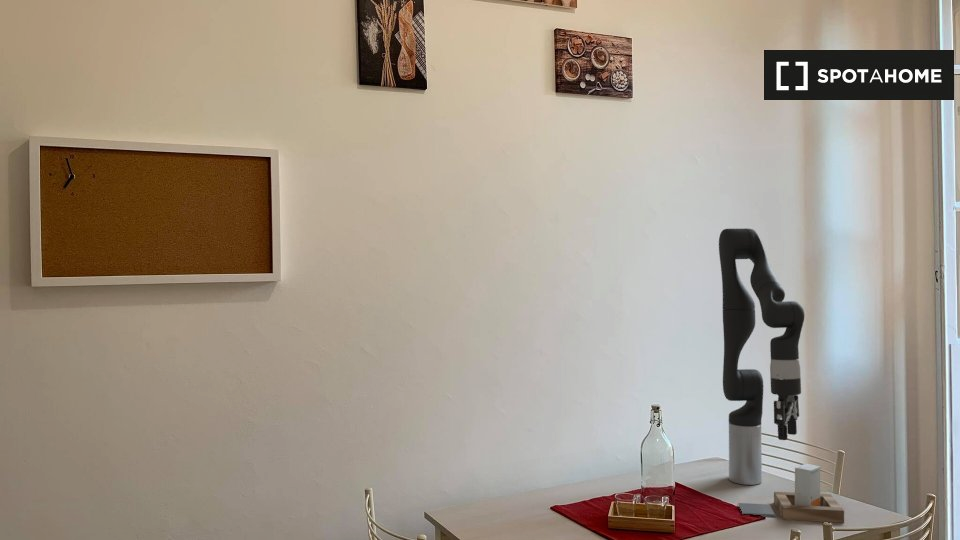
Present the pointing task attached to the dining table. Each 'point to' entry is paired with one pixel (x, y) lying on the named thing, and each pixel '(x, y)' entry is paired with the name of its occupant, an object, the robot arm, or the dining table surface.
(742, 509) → the slate coaster
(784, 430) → the robot arm
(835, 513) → the socket block
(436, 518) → the dining table surface
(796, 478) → the skincare box
